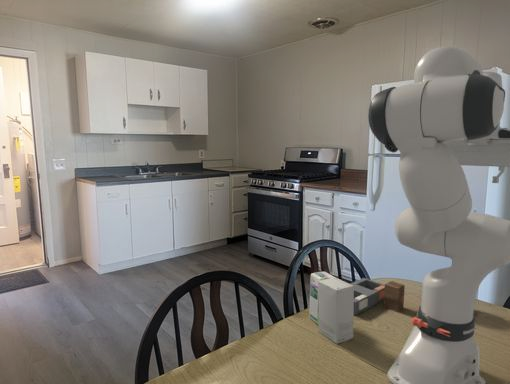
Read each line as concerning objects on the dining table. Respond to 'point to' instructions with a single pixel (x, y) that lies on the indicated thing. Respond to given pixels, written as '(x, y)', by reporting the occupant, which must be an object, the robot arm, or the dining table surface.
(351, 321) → the skincare box
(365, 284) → the socket block
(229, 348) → the dining table surface
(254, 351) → the dining table surface
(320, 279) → the syrup box
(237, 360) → the dining table surface
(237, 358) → the dining table surface
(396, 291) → the walnut plug
